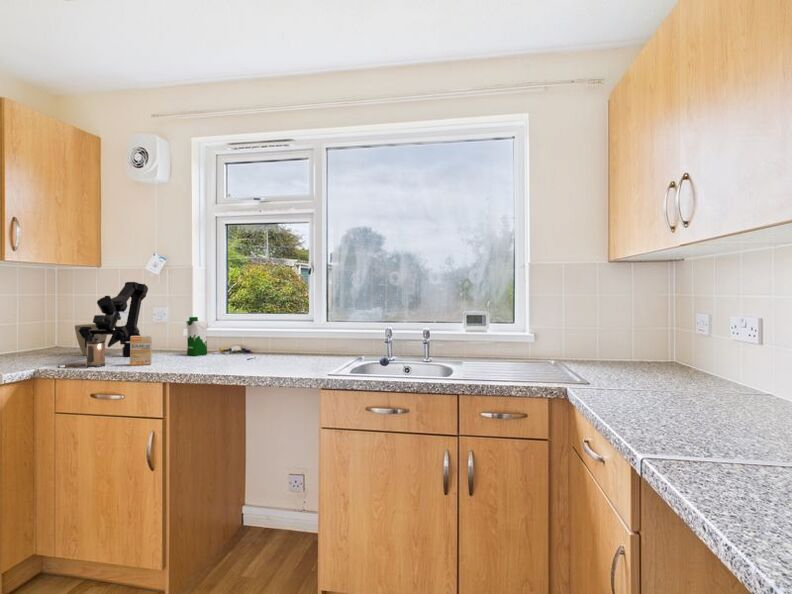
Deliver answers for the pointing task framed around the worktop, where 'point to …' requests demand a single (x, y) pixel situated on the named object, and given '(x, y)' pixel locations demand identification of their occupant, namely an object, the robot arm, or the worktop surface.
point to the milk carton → (196, 337)
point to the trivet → (74, 364)
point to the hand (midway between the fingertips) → (97, 346)
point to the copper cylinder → (95, 353)
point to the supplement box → (140, 350)
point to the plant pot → (82, 340)
